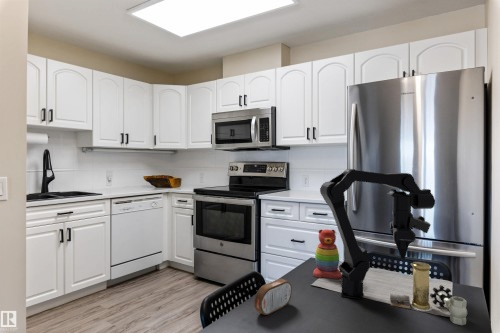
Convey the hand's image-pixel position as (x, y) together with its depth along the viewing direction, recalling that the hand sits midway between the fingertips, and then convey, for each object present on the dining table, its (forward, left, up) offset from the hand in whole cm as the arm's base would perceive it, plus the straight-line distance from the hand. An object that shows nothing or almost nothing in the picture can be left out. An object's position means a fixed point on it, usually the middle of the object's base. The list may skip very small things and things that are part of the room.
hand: (401, 254), depth 109 cm
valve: (+12, -13, -13) cm, 22 cm away
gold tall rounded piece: (+4, -10, -13) cm, 17 cm away
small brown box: (-1, -10, -13) cm, 16 cm away
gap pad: (+5, -10, -13) cm, 17 cm away
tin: (-38, -27, -13) cm, 48 cm away
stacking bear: (-26, +9, -13) cm, 31 cm away
